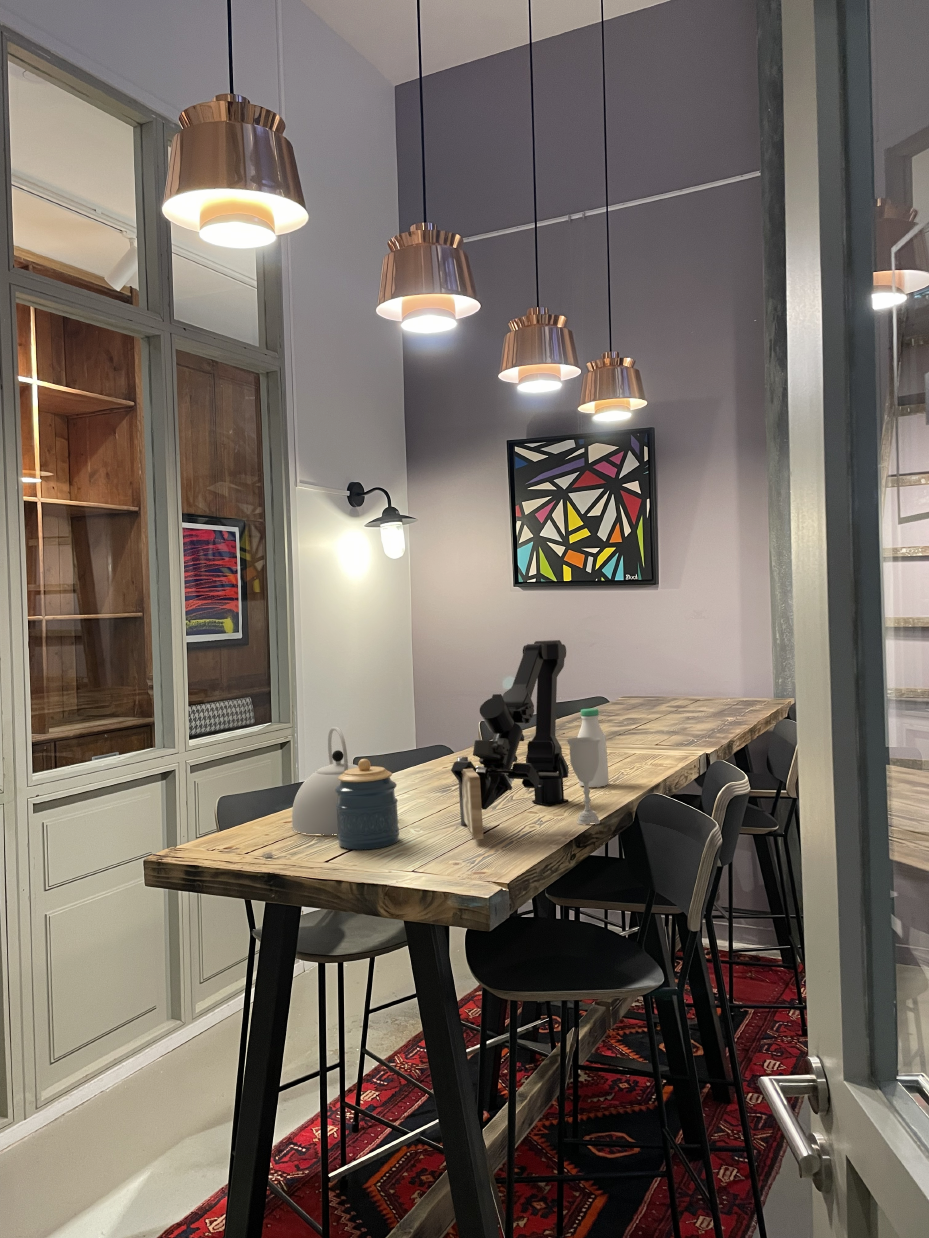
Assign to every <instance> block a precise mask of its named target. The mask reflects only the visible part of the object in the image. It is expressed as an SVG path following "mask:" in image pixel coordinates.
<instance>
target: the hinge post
mask: <svg viewBox="0 0 929 1238" xmlns="http://www.w3.org/2000/svg"><path fill="white" fill-rule="evenodd" d="M456 761H469V758H468V756H457V757H456ZM457 781H458V780H457ZM458 796H459V797H458V798H459V811H460V813H459V814H460V826H462V827H468V826H467V825H466V823H465V821H464V813H463V797H462V784H460V782H459V781H458Z"/></svg>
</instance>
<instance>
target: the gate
mask: <svg viewBox="0 0 929 1238" xmlns="http://www.w3.org/2000/svg"><path fill="white" fill-rule="evenodd" d="M461 773H462V774H463V777H462V797H463V813H464V821H465V823H466V825H467V826H466V827H468V829H469V831H470V833H471V835H472V839H473V840H482V839H484V826H483V825H484V824H483V809H482V805H481V789H480V777H479V775H478V774H477V773H476V772H475V771H474V770H473V769H472V768H471V767H468V768H467V769H463V771H461Z"/></svg>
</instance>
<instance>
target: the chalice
mask: <svg viewBox="0 0 929 1238" xmlns="http://www.w3.org/2000/svg"><path fill="white" fill-rule="evenodd" d="M599 741H600V738H594V737H581V738H577V737H574V738H568V739H567V740H566V742H567V744H568V745H569V758H570V760H569V761H570V765H571V767H572V770H573V772H574V775H576V777H577V779H578V782H579V781H581V782H583V783H584V787H583V790H582V793H583V794H584V797H583V800H582V801H583V802H584V809H583V810H582V811H580V813H579V815H578V819H577V821H576V824H577V823H579V824H578V825H580V824H590V823H595V825H599V824H600V823H601V821H600V820H599V816H598V814H597V813H596V811H594V810H592V808H591V805H590V803H591V800H592V799H591V797H590V793H591V790H590V788H589V787H588V785H589V782H591V781H592V780H593V778H594V776H595V773H596V771H597V768H598V764H599V749H598V743H599Z"/></svg>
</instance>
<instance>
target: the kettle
mask: <svg viewBox="0 0 929 1238" xmlns="http://www.w3.org/2000/svg"><path fill="white" fill-rule="evenodd" d="M334 731H335V732H337V733H338V734H337V735H339V739H340V741H341V748H342V751H341V750H339V749H338V750H335V751H332V737H333V732H334ZM327 751H328V753H327V754H328V760H329V765H325V766H322V767H320V768H318V769H317V770H315V771H314V772H313V773H312V774H311V775H309V776H308V777H307V778H306V779H305V781H304V782H303V783H302V784H301V785H300V787H299V789H298V791H297V793H296V795H295V797H294V799H293V800H294V801H293V804H292V813H291V821H292V822H291V826H292V827H293V830H295V831H297V832H300V833H306V834H321V835H323V834H324V835H332V834H333V835H334V834H337V833H338V823H337V808H336V803H337V802H338V794H337V793H336V792H335V788H336V787H337V786H338V785H339V784H340V780H338V777H339V776H340V775H342V774H343V773H344V772H345V771H346V770H348V769H352V768H358V765H356V764H354V763H353V764H352V763H349V762H348V752H347V751H348V750H347V744H346V741H345V737H344V734H343V732H342V730H341V729H340V728H339V727H337V726H332V727H331V728H330V729H329V732H328V736H327ZM342 761H343V762H342ZM334 762H335V763H334ZM292 827H291V828H292ZM293 830H292V831H293Z"/></svg>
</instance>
